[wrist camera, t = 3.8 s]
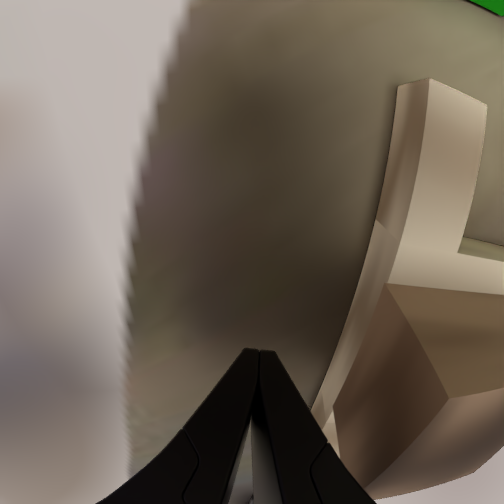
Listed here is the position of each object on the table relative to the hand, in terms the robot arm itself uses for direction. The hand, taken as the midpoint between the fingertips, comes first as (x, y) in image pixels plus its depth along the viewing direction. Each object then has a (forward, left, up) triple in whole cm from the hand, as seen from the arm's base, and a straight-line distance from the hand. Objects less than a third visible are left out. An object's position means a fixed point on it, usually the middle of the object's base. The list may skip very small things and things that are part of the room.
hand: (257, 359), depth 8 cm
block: (0, -6, 0) cm, 6 cm away
